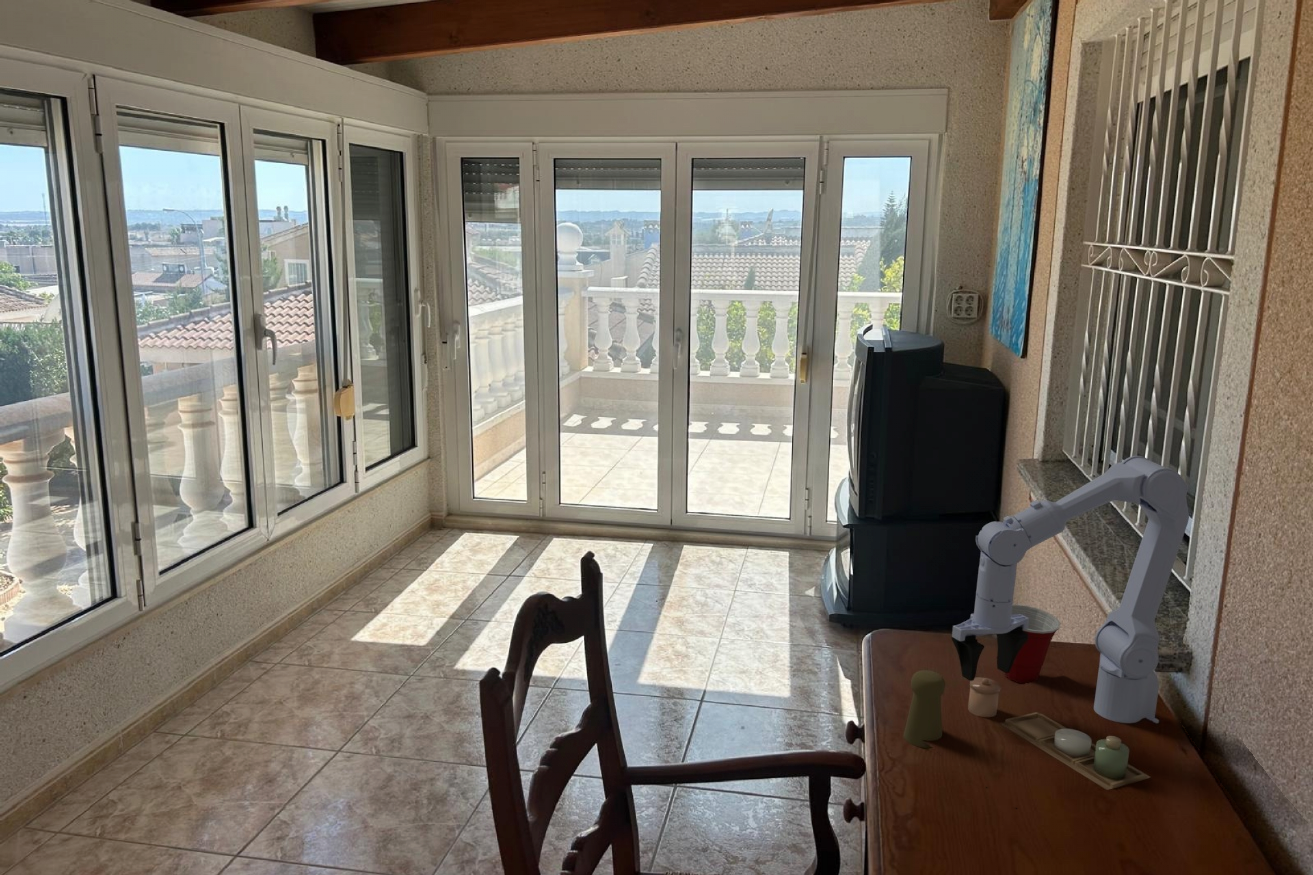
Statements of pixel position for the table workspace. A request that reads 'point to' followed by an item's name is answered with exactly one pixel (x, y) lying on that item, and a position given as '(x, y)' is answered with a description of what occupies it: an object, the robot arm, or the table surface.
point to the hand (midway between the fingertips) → (985, 674)
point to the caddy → (1043, 735)
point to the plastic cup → (1033, 643)
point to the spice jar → (983, 697)
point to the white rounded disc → (1072, 742)
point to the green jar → (1111, 758)
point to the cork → (925, 709)
